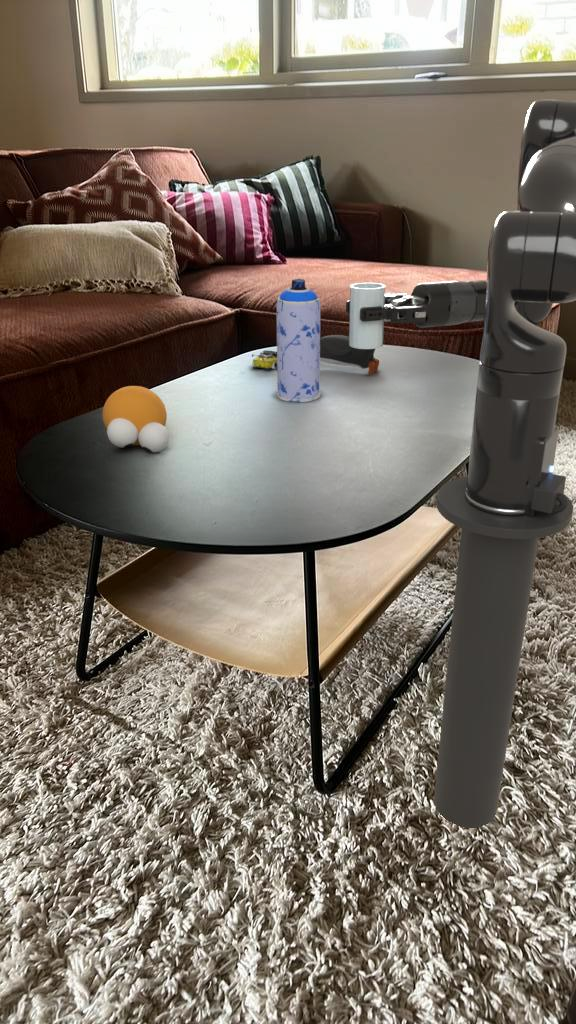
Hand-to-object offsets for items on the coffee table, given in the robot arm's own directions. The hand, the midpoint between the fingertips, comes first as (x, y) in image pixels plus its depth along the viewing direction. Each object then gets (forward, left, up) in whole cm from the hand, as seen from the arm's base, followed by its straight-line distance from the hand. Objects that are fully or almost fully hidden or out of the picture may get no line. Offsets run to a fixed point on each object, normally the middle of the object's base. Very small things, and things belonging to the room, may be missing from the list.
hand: (353, 311), depth 129 cm
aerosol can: (+8, +4, -15) cm, 18 cm away
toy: (+16, +36, -15) cm, 43 cm away
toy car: (+24, -11, -15) cm, 31 cm away
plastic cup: (-2, -2, -6) cm, 6 cm away
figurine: (+11, -15, -15) cm, 24 cm away
